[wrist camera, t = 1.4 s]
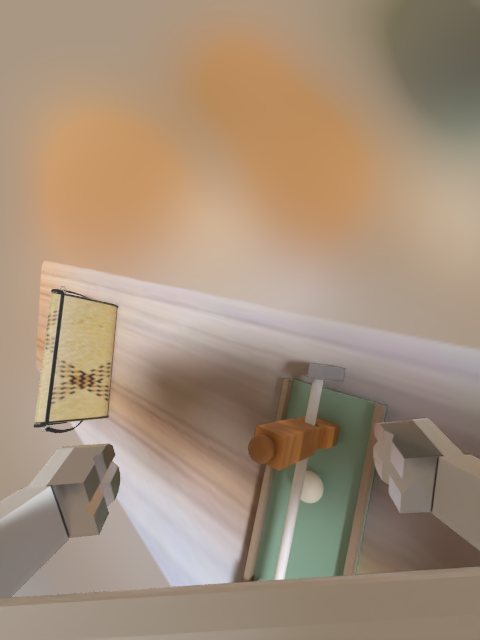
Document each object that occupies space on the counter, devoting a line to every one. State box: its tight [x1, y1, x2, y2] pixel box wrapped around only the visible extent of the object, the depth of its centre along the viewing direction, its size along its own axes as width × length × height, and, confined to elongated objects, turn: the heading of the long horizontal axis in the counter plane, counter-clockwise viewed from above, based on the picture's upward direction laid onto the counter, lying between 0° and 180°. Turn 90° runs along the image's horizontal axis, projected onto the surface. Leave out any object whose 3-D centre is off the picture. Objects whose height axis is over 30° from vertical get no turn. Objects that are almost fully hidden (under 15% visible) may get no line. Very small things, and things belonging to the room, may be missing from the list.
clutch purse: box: [34, 286, 118, 433], centre depth 68 cm, size 30×7×15 cm, turn 0°
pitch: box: [242, 363, 387, 582], centre depth 38 cm, size 13×38×8 cm, turn 166°
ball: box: [300, 471, 324, 503], centre depth 39 cm, size 4×4×4 cm
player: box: [248, 416, 340, 471], centre depth 34 cm, size 4×3×16 cm
